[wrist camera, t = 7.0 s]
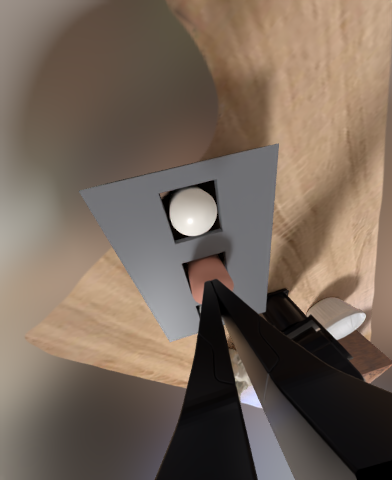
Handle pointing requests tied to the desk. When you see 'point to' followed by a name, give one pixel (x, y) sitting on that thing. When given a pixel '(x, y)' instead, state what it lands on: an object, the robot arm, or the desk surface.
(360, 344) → the tissue box cover
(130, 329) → the desk surface
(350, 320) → the ramekin
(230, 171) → the housing
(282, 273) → the desk surface
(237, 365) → the skull
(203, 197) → the knob
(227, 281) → the knob middle
